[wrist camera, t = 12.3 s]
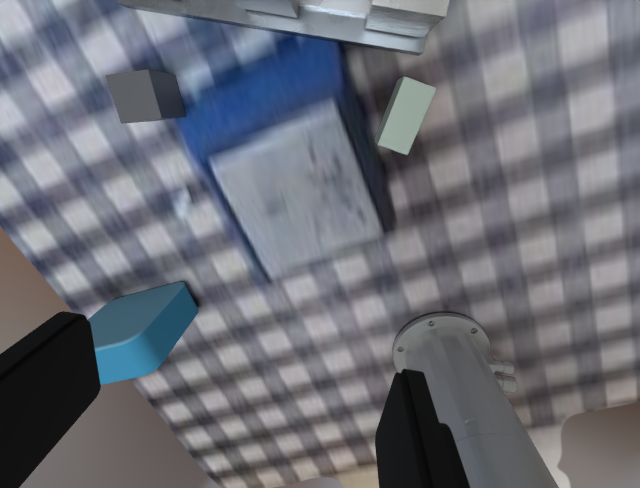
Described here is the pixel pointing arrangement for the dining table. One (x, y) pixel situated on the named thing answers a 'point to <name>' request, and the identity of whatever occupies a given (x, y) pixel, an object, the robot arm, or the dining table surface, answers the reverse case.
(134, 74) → the block
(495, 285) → the dining table surface
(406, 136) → the block
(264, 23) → the rail base
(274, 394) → the dining table surface
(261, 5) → the block
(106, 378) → the blue flat block
